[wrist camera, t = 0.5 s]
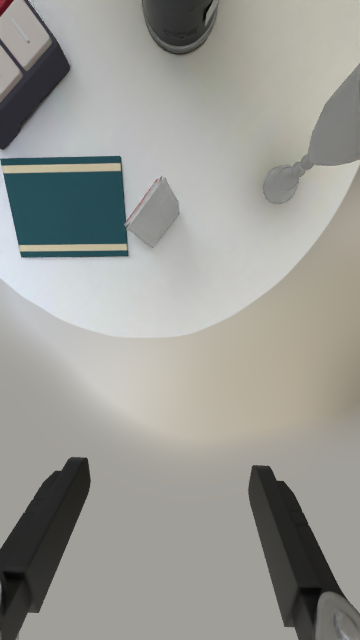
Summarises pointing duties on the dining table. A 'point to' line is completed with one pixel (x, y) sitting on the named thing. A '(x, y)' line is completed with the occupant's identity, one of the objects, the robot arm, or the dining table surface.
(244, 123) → the dining table surface
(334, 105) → the chalice
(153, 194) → the white gable top carton
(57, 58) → the calculator
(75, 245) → the cloth
